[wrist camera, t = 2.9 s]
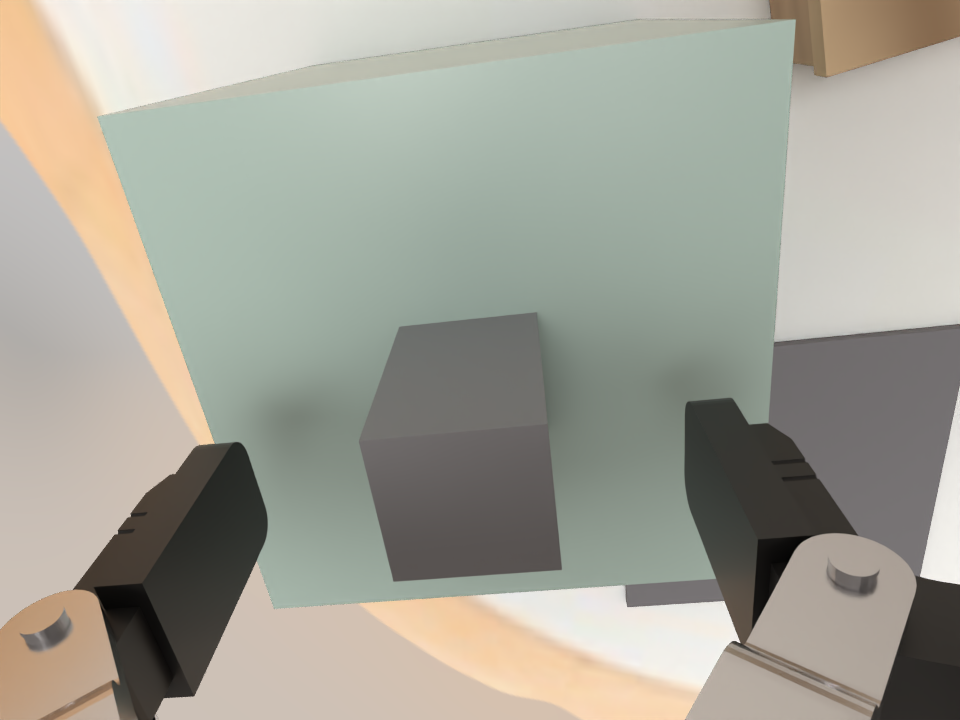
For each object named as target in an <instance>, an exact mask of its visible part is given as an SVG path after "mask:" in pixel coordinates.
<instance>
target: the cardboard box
mask: <svg viewBox="0 0 960 720" xmlns="http://www.w3.org/2000/svg"><path fill="white" fill-rule="evenodd" d="M769 1H770V10H771V19H796V25H795V40H794V54H793V63H796V64H803V65H809V66H814V75H816V76H822V77H830V76H833V75H836V74H839V73H843V72H846V71H849V70H852V69H856V68H859V67H862V66H865V65H869V64H872V63H875V62H878V61H882V60H885V59H888V58H891V57H895V56H898V55H901V54H904V53H908V52H911V51H914V50H917V49H921V48H924V47H927V46H930V45H934V44H937V43H940V42H943V41H946V40H950V39H953V38H956V37H959V36H960V0H769Z"/></svg>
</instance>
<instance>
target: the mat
mask: <svg viewBox="0 0 960 720" xmlns="http://www.w3.org/2000/svg"><path fill="white" fill-rule="evenodd" d="M959 386H960V325H950V326H939V327H929V328H919V329H909V330H899V331H888V332H878V333H868V334H858V335H847V336H837V337H827V338H817V339H807V340H796V341H786V342H776V343H774V347H773V362H772V376H771V391H770V406H769V420H768V424H770V425H771V426H773V427H774V428H776V429H777V430H779V431H780V432H782V433H784V434H785V435H787V436H788V437H790V438H791V439H792V440H793V441H794V443H795V444H796V446H797V447H798V449H799V450H800V452H801V453H802V455H803V456H804V457H805V461H806V462H808V463H809V465H810V466H811V468H812V469H813V470H814V472H815V473H816V477H817V479H820V481H821V482H822V484H823V485H824V486H825V488H826V489H827V491H828V492H829V494H830V495H831V497H832V498H833V500H834V501H835V502H836V504H837V505H838V507H839V508H840V510H841V511H842V513H843V514H844V515H845V517H846V518H847V520H848V521H849V523H850V524H851V526H852V527H853V529H854V530H855V531H856V533H857V534H858V536H860V537H863V538H867V539H870V540H872V541H875V542H877V543H879V544H881V545H884V546H886V547H887V548H889V549H890V550H892V551H894V552H895V553H896V554H897V555H899V556H900V557H901V558H902V559H903V560H904V561H905V562H906V563H907V564H908V565H909V567H910V568H911V570H912V571H913V573H914V575H915V576H919V577H920V573H921V569H922V564H923V559H924V554H925V549H926V545H927V540H928V535H929V530H930V525H931V521H932V516H933V511H934V506H935V501H936V497H937V492H938V487H939V482H940V477H941V473H942V468H943V463H944V458H945V453H946V449H947V444H948V439H949V434H950V429H951V425H952V420H953V415H954V410H955V405H956V401H957V396H958V391H959ZM714 601H724V598H723V595H722V593H721V590H720V588H719V585H718V582H717V580H716V579H706V580H691V581H677V582H662V583H647V584H632V585H626V602H627V607H637V606H653V605H668V604H684V603H699V602H714Z"/></svg>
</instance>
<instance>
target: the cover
mask: <svg viewBox="0 0 960 720" xmlns="http://www.w3.org/2000/svg"><path fill="white" fill-rule="evenodd" d="M795 25H796V19H637V20H630V21H623V22H616V23H609V24H602V25H595V26H588V27H581V28H574V29H567V30H560V31H553V32H546V33H539V34H532V35H525V36H518V37H511V38H504V39H497V40H490V41H483V42H476V43H469V44H462V45H455V46H448V47H441V48H434V49H426V50H419V51H412V52H405V53H398V54H391V55H384V56H377V57H370V58H363V59H356V60H349V61H342V62H335V63H328V64H321V65H314V66H309V67H305V68H301V69H296V70H292V71H288V72H284V73H279V74H275V75H271V76H267V77H263V78H258V79H254V80H250V81H246V82H241V83H237V84H233V85H229V86H225V87H220V88H216V89H212V90H208V91H203V92H199V93H195V94H191V95H187V96H182V97H178V98H174V99H170V100H165V101H161V102H157V103H153V104H149V105H144V106H140V107H136V108H132V109H127V110H123V111H119V112H115V113H111V114H106V115H102V116H98V120H99V123H100V126H101V128H102V131H103V134H104V137H105V140H106V142H107V145H108V148H109V151H110V153H111V156H112V159H113V162H114V165H115V167H116V170H117V173H118V176H119V178H120V181H121V184H122V187H123V190H124V192H125V195H126V198H127V201H128V203H129V206H130V209H131V212H132V215H133V217H134V220H135V223H136V226H137V229H138V231H139V234H140V237H141V240H142V242H143V245H144V248H145V251H146V254H147V256H148V259H149V262H150V265H151V267H152V270H153V273H154V276H155V279H156V281H157V284H158V287H159V290H160V292H161V295H162V298H163V301H164V304H165V306H166V309H167V312H168V315H169V317H170V320H171V323H172V326H173V329H174V331H175V334H176V337H177V340H178V342H179V345H180V348H181V351H182V354H183V356H184V359H185V362H186V365H187V368H188V370H189V373H190V376H191V379H192V381H193V384H194V387H195V390H196V393H197V395H198V398H199V401H200V404H201V406H202V409H203V412H204V415H205V418H206V420H207V423H208V426H209V429H210V431H211V434H212V437H213V440H214V443H215V444H219V443H230V442H240V443H241V444H243V446H244V447H245V449H246V450H247V453H248V456H249V459H250V462H251V465H252V468H253V471H254V474H255V477H256V480H257V483H258V486H259V489H260V492H261V495H262V498H263V501H264V504H265V507H266V511H267V517H268V530H267V537H266V540H265V543H264V546H263V548H262V550H261V552H260V554H259V556H258V559H257V562H258V565H259V568H260V570H261V573H262V576H263V578H264V582H265V584H266V587H267V590H268V593H269V596H270V598H271V601H272V604H273V606H274V609H278V608H293V607H307V606H323V605H337V604H351V603H367V602H382V601H396V600H411V599H426V598H441V597H455V596H470V595H485V594H500V593H514V592H529V591H544V590H559V589H573V588H588V587H603V586H618V585H632V584H647V583H662V582H677V581H691V580H706V579H716V577H715V574H714V572H713V569H712V567H711V564H710V561H709V559H708V556H707V553H706V551H705V548H704V545H703V543H702V540H701V538H700V535H699V532H698V530H697V527H696V524H695V522H694V519H693V517H692V514H691V511H690V508H689V505H688V500H687V495H686V488H685V477H684V456H685V407H686V403H687V402H688V401H698V400H709V399H720V398H732V399H733V400H734V401H735V402H736V404H737V406H738V407H739V409H740V411H741V412H742V414H743V416H744V417H745V419H746V421H747V422H748V424H749V425H750V424H762V423H768V420H769V406H770V391H771V376H772V362H773V347H774V332H775V318H776V303H777V289H778V274H779V259H780V245H781V230H782V215H783V201H784V186H785V172H786V157H787V142H788V128H789V113H790V98H791V84H792V69H793V54H794V40H795Z"/></svg>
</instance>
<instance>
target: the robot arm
mask: <svg viewBox="0 0 960 720" xmlns="http://www.w3.org/2000/svg"><path fill="white" fill-rule="evenodd" d="M684 477H685V488H686V495H687V500H688V505H689V508H690V511H691V514H692V517H693V519H694V522H695V524H696V527H697V530H698V532H699V535H700V538H701V540H702V543H703V545H704V548H705V551H706V553H707V556H708V559H709V561H710V564H711V567H712V569H713V572H714V574H715V577H716V580H717V582H718V585H719V588H720V590H721V593H722V595H723V598H724V601H725V603H726V606H727V609H728V611H729V614H730V616H731V619H732V622H733V624H734V627H735V630H736V632H737V635H738V638H739V640H740V643H738V642H736V641H732V642H731V643H730V644H729V645H728V646H727V647H726V648H725V650H724V651H723V653H722V654H721V656H720V658H719V659H718V661H717V663H716V665H715V667H714V668H713V670H712V672H711V674H710V676H709V677H708V679H707V681H706V683H705V685H704V686H703V688H702V690H701V692H700V694H699V695H698V697H697V699H696V701H695V703H694V704H693V706H692V708H691V710H690V711H689V713H688V715H687V717H686V719H685V720H960V585H959V584H952V583H946V582H940V581H935V580H930V579H926V578H922V577H919V576H915V575H914V573H913V571H912V570H911V568H910V567H909V565H908V564H907V563H906V562H905V561H904V560H903V559H902V558H901V557H900V556H899V555H897V554H896V553H895V552H894V551H892V550H890V549H889V548H887V547H886V546H884V545H881V544H879V543H877V542H875V541H872V540H870V539H867V538H863V537H860V536H858V534H857V533H856V531H855V530H854V529H853V527H852V526H851V524H850V523H849V521H848V520H847V518H846V517H845V515H844V514H843V513H842V511H841V510H840V508H839V507H838V505H837V504H836V502H835V501H834V500H833V498H832V497H831V495H830V494H829V492H828V491H827V489H826V488H825V486H824V485H823V484H822V482H821V481H820V479H817V477H816V473H815V472H814V470H813V469H812V468H811V466H810V465H809V463H808V462H806V461H805V457H804V456H803V455H802V453H801V452H800V450H799V449H798V447H797V446H796V444H795V443H794V441H793V440H792V439H791V438H790V437H788V436H787V435H785V434H784V433H782V432H780V431H779V430H777V429H776V428H774V427H773V426H771V425H770V424H768V423H762V424H750V425H749V424H748V422H747V421H746V419H745V417H744V416H743V414H742V412H741V411H740V409H739V407H738V406H737V404H736V402H735V401H734V400H733V399H732V398H720V399H709V400H698V401H688V402H687V403H686V407H685V456H684ZM267 530H268V517H267V511H266V507H265V504H264V501H263V498H262V495H261V492H260V489H259V486H258V483H257V480H256V477H255V474H254V471H253V468H252V465H251V462H250V459H249V456H248V453H247V450H246V449H245V447H244V446H243V444H241V443H240V442H230V443H219V444H208V445H199V446H197V447H195V448H194V449H193V450H192V452H191V453H190V455H189V456H188V457H187V459H186V460H185V461H184V463H183V464H182V466H181V467H180V468H179V470H178V471H177V472H176V474H172V475H169V476H168V477H167V478H165V479H164V480H163V481H162V482H160V483H159V484H158V485H156V486H155V487H154V488H152V489H151V490H150V491H149V492H147V493H146V494H145V495H144V497H143V498H142V499H141V501H140V502H139V503H138V505H137V506H136V507H135V509H134V510H133V511H132V513H131V517H129V518H127V519H126V521H125V522H124V523H123V524H122V526H121V527H120V528H119V530H118V534H117V535H114V536H113V537H112V539H111V540H110V542H109V543H108V544H107V545H106V547H105V548H104V549H103V551H102V552H101V553H100V555H99V556H98V557H97V559H96V560H95V561H94V563H93V564H92V565H91V567H90V568H89V569H88V571H87V572H86V573H85V575H84V576H83V577H82V578H81V580H80V581H79V582H78V584H77V585H76V586H75V588H74V589H73V590H69V591H63V592H59V593H56V594H53V595H50V596H48V597H45V598H43V599H41V600H39V601H37V602H35V603H33V604H31V605H30V606H28V607H26V608H25V609H23V610H22V611H20V612H19V613H18V614H16V615H15V616H14V617H13V618H11V619H10V620H9V621H8V622H7V623H6V624H5V625H4V626H3V627H2V628H1V629H0V720H159V719H158V717H157V715H156V712H157V710H158V708H159V706H160V704H161V702H162V700H163V698H173V697H190V696H195V694H196V691H197V689H198V687H199V685H200V683H201V681H202V678H203V676H204V674H205V672H206V669H207V667H208V665H209V663H210V661H211V659H212V657H213V654H214V652H215V650H216V648H217V646H218V644H219V641H220V639H221V637H222V635H223V633H224V630H225V628H226V626H227V624H228V622H229V619H230V617H231V615H232V613H233V611H234V609H235V606H236V604H237V602H238V600H239V597H240V596H241V593H242V591H243V589H244V587H245V585H246V583H247V580H248V578H249V576H250V574H251V572H252V570H253V567H254V565H255V563H256V561H257V559H258V556H259V554H260V552H261V550H262V548H263V546H264V543H265V540H266V537H267Z"/></svg>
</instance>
